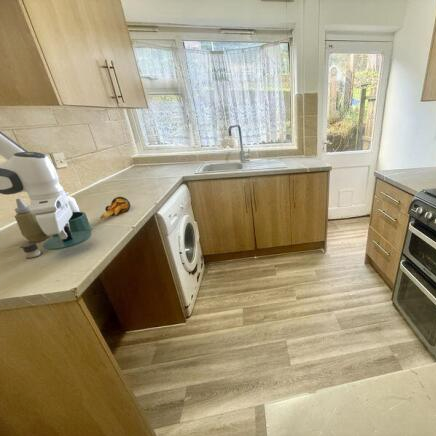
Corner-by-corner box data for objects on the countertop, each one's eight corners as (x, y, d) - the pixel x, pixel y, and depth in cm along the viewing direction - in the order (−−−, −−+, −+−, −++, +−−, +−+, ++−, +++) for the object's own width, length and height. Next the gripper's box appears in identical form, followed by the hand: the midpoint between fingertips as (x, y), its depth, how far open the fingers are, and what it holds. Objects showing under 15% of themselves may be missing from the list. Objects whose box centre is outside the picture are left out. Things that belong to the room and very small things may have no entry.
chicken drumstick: (136, 199, 132) (119, 199, 115) (131, 218, 133) (113, 222, 115) (118, 194, 131) (98, 194, 113) (113, 214, 131) (92, 217, 113)
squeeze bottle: (57, 235, 105) (36, 196, 97) (34, 245, 98) (10, 203, 90) (45, 233, 107) (24, 194, 100) (22, 242, 100) (-2, 201, 93)
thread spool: (24, 260, 87) (17, 248, 85) (28, 255, 91) (22, 243, 89) (40, 257, 89) (34, 244, 87) (44, 251, 93) (38, 239, 91)
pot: (48, 248, 95) (38, 228, 92) (60, 230, 110) (52, 213, 106) (88, 240, 101) (80, 221, 97) (94, 224, 115) (88, 207, 112)
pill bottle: (86, 221, 119) (73, 191, 112) (66, 227, 112) (51, 197, 106) (80, 218, 123) (67, 189, 116) (60, 224, 116) (45, 194, 110)
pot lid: (38, 255, 82) (31, 240, 80) (50, 239, 93) (44, 225, 91) (88, 244, 88) (82, 230, 86) (94, 230, 99) (89, 217, 97)
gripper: (47, 194, 91) (62, 227, 96) (27, 211, 74) (46, 250, 80) (69, 191, 94) (82, 223, 99) (53, 207, 77) (70, 245, 83)
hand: (66, 235), depth 89 cm, fingers closed on pot lid, 3 cm apart
